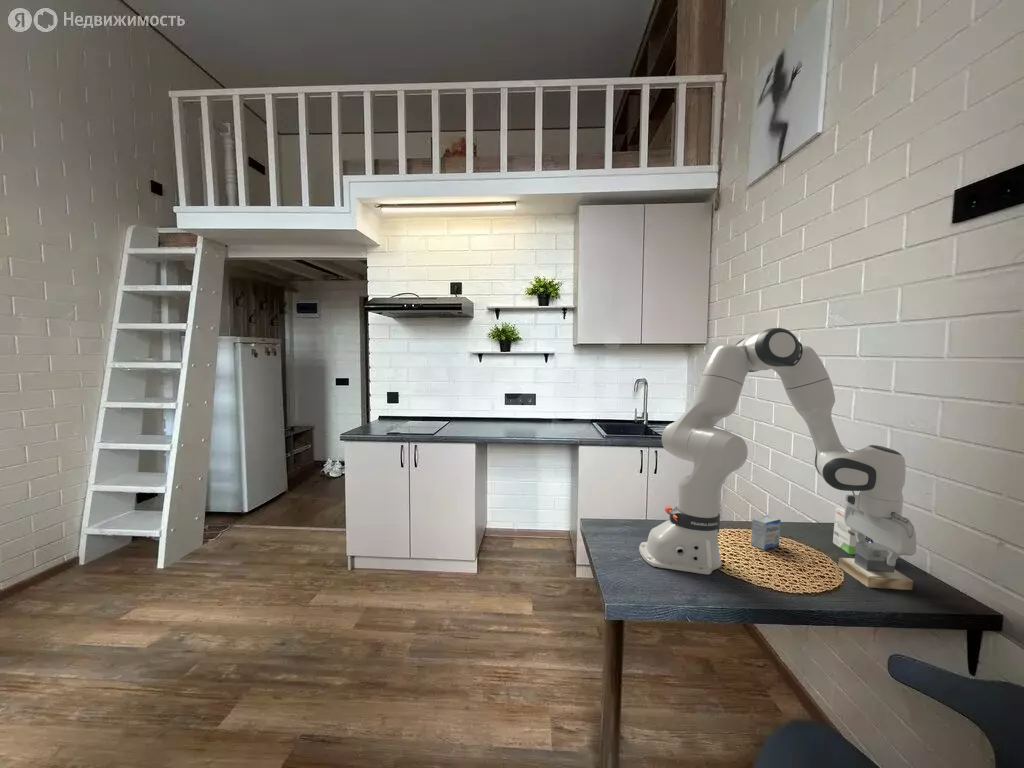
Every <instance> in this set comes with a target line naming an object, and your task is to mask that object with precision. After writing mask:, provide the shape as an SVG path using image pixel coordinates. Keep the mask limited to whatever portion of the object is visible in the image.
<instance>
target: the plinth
mask: <svg viewBox="0 0 1024 768" xmlns="http://www.w3.org/2000/svg"><path fill="white" fill-rule="evenodd" d="M854 560H855V557H854V558H851V557H839V558H838V563H837V565H838V566H837V567H838V568H840V569H842V570H843V571H844V572H845V573H847V574H848V575H850V576H851V577H852V578H854V579H855V580H857V581H859V583H861V584H863V585H864V586H866V588H873V589H874V588H875V589H887V590H888V589H892V590H907V591H908V590H909V591H912V590H913V586H914V580H913V579H911V578H909V577H908V576H906V575H905V574H903V573H901V572H900V571H898V570H896V569H895V570H894V573H892V572H875V571H866V570H864V569H863V568H861V567H860V566H858V565H857V564H855V563H854Z"/></svg>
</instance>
